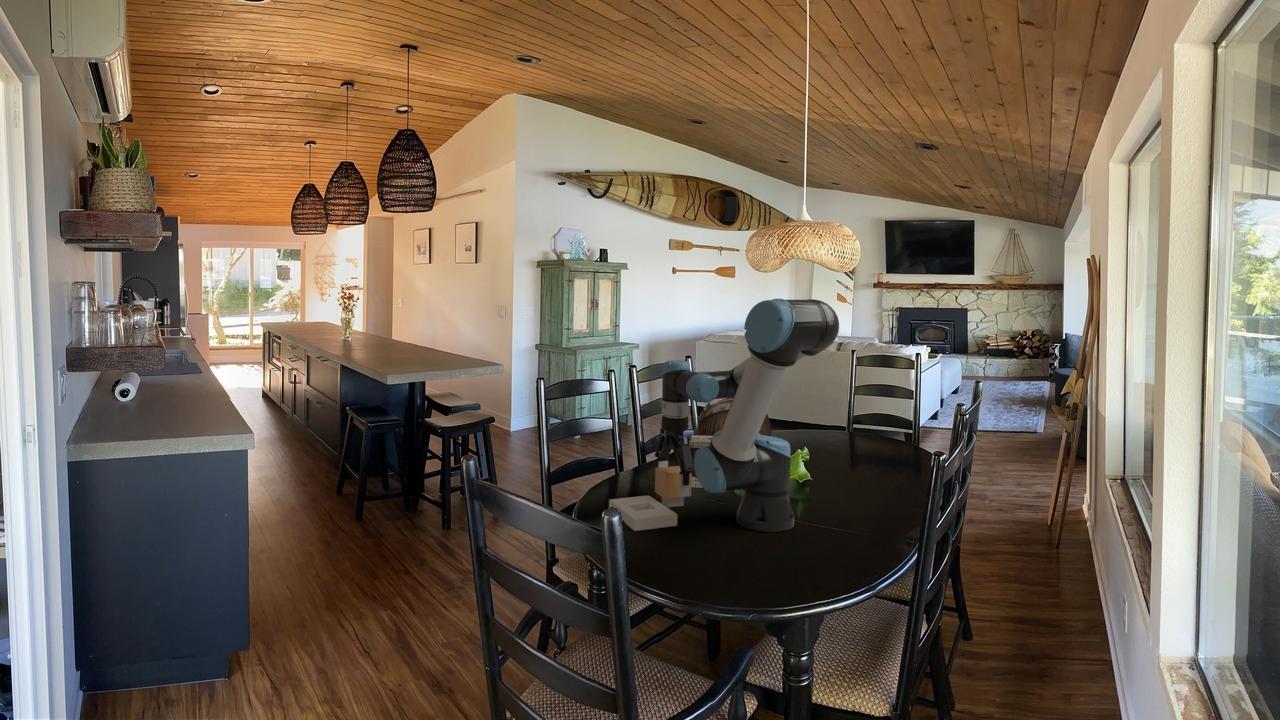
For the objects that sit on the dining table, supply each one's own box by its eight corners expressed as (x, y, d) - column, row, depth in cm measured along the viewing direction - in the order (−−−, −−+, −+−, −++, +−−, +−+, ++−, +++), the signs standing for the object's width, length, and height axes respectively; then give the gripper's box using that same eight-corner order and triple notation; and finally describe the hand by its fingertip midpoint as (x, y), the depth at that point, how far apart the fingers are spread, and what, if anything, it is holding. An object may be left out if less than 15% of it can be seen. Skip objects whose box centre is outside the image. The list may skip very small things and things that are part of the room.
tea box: (737, 481, 243) (739, 435, 241) (738, 490, 233) (740, 442, 231) (689, 479, 244) (691, 433, 242) (688, 488, 234) (690, 440, 232)
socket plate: (677, 525, 199) (677, 514, 199) (634, 530, 194) (634, 519, 194) (648, 505, 215) (648, 495, 215) (608, 510, 210) (609, 499, 210)
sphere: (774, 475, 250) (777, 400, 247) (698, 473, 251) (700, 398, 248) (763, 457, 275) (766, 388, 272) (694, 455, 275) (696, 386, 273)
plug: (690, 506, 216) (691, 471, 214) (665, 509, 212) (666, 474, 211) (679, 499, 222) (680, 465, 221) (654, 502, 219) (655, 468, 218)
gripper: (644, 408, 224) (643, 479, 227) (683, 425, 201) (680, 503, 204) (667, 407, 227) (665, 477, 230) (708, 423, 204) (705, 500, 207)
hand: (672, 489), depth 217 cm, fingers open, 13 cm apart
